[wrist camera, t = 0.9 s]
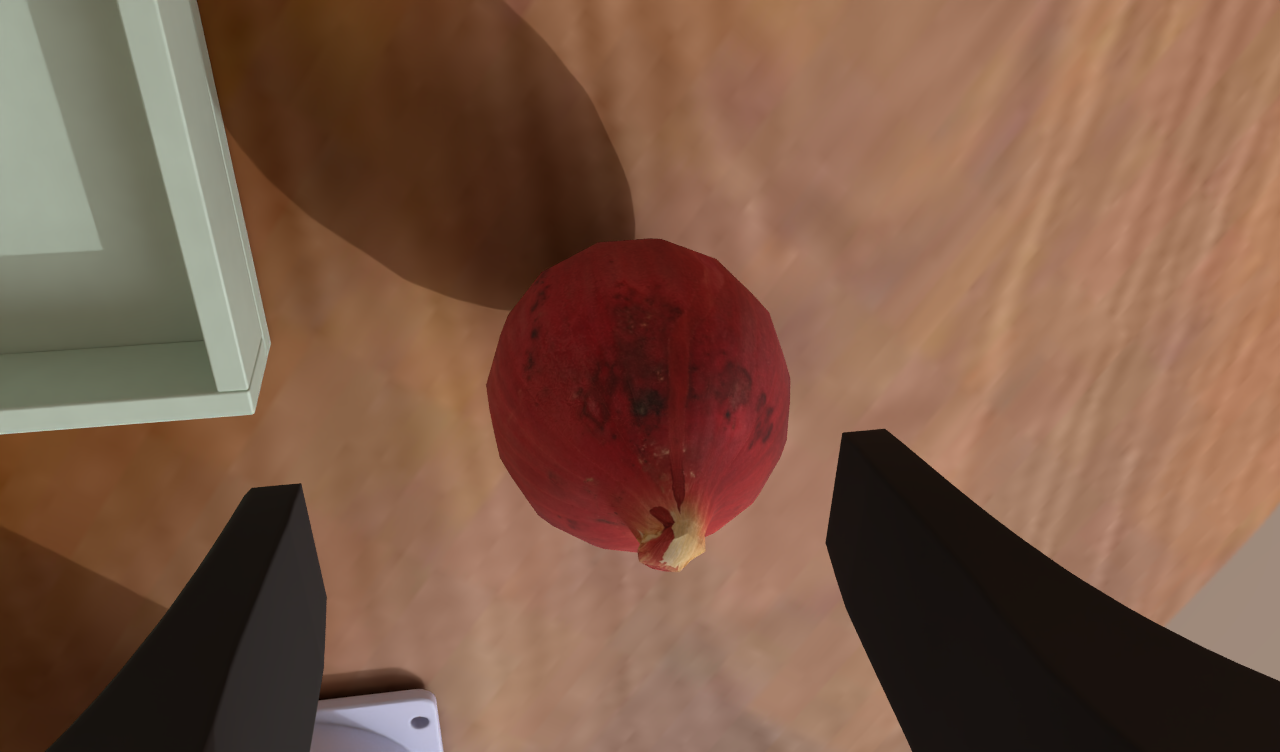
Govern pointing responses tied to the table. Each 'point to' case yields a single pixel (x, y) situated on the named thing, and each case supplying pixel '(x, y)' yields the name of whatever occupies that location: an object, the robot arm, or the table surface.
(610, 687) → the table surface
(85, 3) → the tray
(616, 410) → the onion
